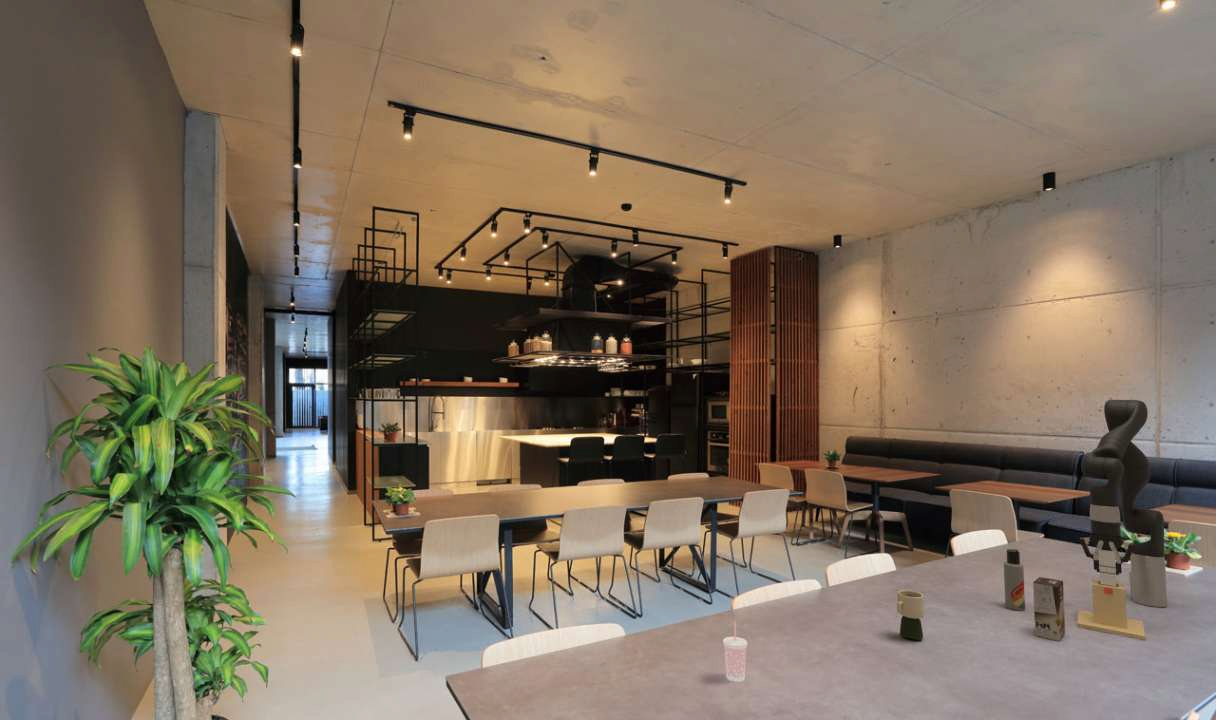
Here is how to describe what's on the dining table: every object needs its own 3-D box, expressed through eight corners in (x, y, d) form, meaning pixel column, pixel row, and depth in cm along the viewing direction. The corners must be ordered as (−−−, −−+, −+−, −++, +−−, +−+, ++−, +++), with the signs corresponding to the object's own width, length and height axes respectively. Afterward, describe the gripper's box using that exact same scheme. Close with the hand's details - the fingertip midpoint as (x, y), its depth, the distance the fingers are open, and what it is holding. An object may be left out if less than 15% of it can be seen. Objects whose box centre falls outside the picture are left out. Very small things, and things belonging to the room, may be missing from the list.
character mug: (913, 630, 184) (912, 588, 185) (934, 639, 178) (933, 594, 179) (888, 636, 180) (887, 592, 181) (908, 645, 173) (907, 599, 174)
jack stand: (1079, 613, 201) (1077, 573, 202) (1142, 625, 191) (1140, 583, 192) (1077, 627, 189) (1075, 584, 190) (1145, 640, 179) (1143, 595, 180)
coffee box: (1060, 641, 177) (1058, 586, 178) (1034, 635, 181) (1032, 582, 183) (1065, 633, 183) (1063, 580, 184) (1040, 628, 188) (1038, 576, 189)
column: (1101, 609, 193) (1098, 547, 194) (1118, 612, 190) (1114, 549, 192) (1101, 613, 190) (1098, 549, 191) (1118, 616, 187) (1115, 551, 189)
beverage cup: (720, 672, 154) (720, 617, 155) (743, 671, 155) (742, 616, 156) (727, 683, 148) (726, 625, 149) (750, 682, 149) (750, 625, 150)
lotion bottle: (1028, 611, 202) (1026, 552, 204) (1009, 610, 204) (1007, 551, 205) (1020, 606, 208) (1018, 548, 209) (1002, 604, 209) (1000, 547, 211)
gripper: (1133, 520, 191) (1136, 574, 189) (1077, 514, 200) (1079, 566, 198) (1134, 524, 185) (1137, 580, 184) (1076, 518, 194) (1079, 571, 193)
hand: (1107, 572), depth 191 cm, fingers closed on column, 4 cm apart
